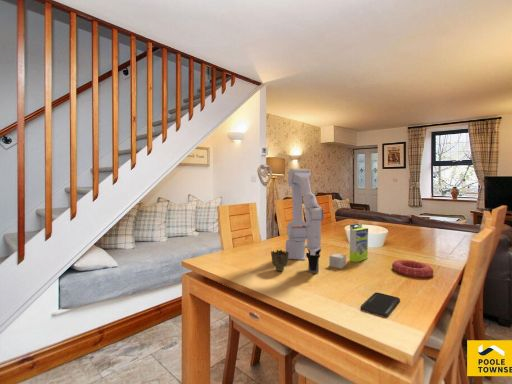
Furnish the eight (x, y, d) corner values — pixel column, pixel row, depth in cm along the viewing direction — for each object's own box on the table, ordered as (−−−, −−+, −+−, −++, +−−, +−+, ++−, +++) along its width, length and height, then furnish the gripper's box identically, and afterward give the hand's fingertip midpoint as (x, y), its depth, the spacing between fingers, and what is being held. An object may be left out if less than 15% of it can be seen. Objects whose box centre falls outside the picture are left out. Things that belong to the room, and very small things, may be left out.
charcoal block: (308, 272, 117) (308, 260, 116) (309, 269, 121) (309, 258, 120) (318, 273, 116) (318, 261, 115) (318, 270, 119) (318, 258, 119)
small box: (334, 263, 129) (334, 253, 129) (346, 266, 125) (346, 255, 125) (328, 266, 125) (329, 255, 125) (341, 269, 121) (341, 257, 121)
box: (356, 262, 130) (356, 225, 129) (348, 260, 133) (348, 224, 133) (368, 258, 137) (369, 223, 136) (360, 257, 140) (361, 222, 139)
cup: (276, 274, 114) (276, 255, 113) (267, 269, 120) (267, 251, 120) (291, 271, 117) (292, 252, 117) (282, 266, 124) (282, 249, 123)
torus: (384, 268, 123) (384, 260, 123) (410, 265, 127) (410, 257, 127) (413, 280, 108) (413, 271, 108) (442, 277, 112) (442, 268, 111)
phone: (400, 298, 89) (387, 315, 78) (400, 301, 89) (387, 319, 78) (375, 291, 95) (359, 306, 83) (375, 295, 95) (358, 310, 83)
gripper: (305, 232, 125) (305, 262, 126) (302, 238, 111) (302, 272, 112) (321, 233, 124) (321, 263, 124) (320, 239, 110) (320, 274, 110)
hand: (313, 267), depth 118 cm, fingers open, 6 cm apart
